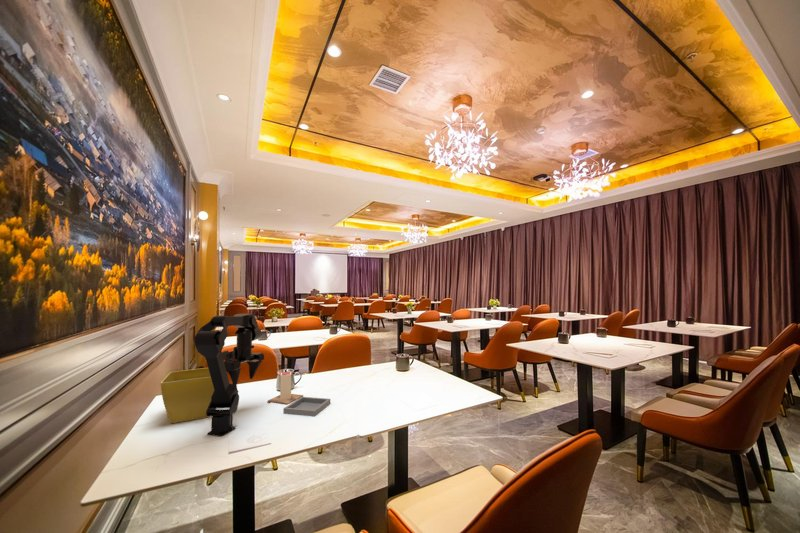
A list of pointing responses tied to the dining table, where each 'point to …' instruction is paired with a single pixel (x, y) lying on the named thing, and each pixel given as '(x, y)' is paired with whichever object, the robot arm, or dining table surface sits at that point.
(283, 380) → the carton
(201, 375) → the flower pot
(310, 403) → the bin
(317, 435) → the dining table surface
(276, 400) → the pad
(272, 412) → the dining table surface
